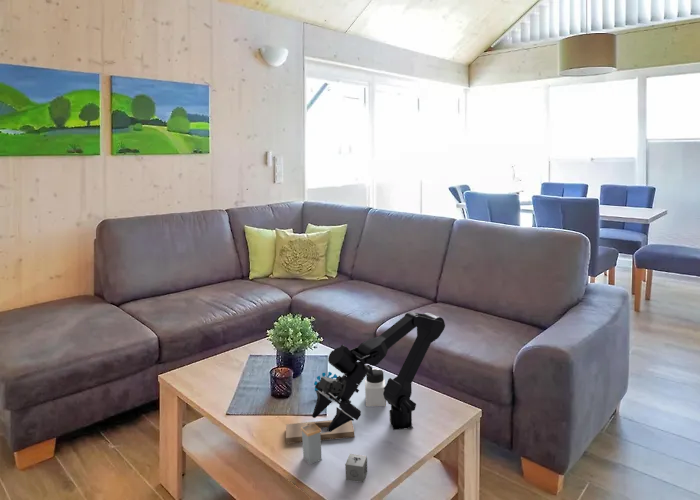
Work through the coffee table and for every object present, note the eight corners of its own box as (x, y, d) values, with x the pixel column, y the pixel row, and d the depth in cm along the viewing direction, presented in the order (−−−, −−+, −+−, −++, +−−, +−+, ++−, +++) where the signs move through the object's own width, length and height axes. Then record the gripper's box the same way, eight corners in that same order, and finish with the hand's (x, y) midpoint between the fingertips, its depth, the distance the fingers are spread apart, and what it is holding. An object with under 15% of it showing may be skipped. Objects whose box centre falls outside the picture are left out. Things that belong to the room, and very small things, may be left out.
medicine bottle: (386, 406, 185) (385, 375, 182) (365, 407, 185) (364, 375, 182) (385, 396, 192) (384, 366, 189) (365, 397, 192) (364, 366, 189)
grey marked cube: (367, 471, 150) (366, 455, 149) (363, 482, 145) (362, 466, 144) (350, 469, 151) (349, 453, 150) (345, 480, 147) (345, 464, 145)
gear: (311, 395, 191) (317, 369, 196) (312, 400, 196) (318, 374, 201) (341, 400, 190) (346, 374, 195) (341, 405, 195) (346, 379, 200)
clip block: (315, 452, 160) (314, 422, 157) (322, 459, 156) (321, 429, 154) (302, 457, 157) (300, 427, 155) (309, 464, 154) (307, 434, 152)
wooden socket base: (351, 423, 175) (351, 418, 174) (354, 437, 167) (354, 431, 166) (286, 429, 172) (286, 424, 172) (286, 443, 165) (285, 438, 164)
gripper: (319, 356, 163) (288, 399, 160) (351, 379, 147) (317, 426, 144) (341, 373, 169) (312, 415, 165) (374, 397, 153) (343, 443, 150)
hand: (320, 424), depth 156 cm, fingers open, 9 cm apart
